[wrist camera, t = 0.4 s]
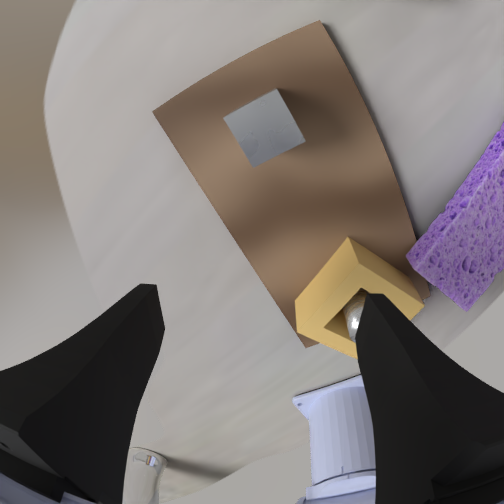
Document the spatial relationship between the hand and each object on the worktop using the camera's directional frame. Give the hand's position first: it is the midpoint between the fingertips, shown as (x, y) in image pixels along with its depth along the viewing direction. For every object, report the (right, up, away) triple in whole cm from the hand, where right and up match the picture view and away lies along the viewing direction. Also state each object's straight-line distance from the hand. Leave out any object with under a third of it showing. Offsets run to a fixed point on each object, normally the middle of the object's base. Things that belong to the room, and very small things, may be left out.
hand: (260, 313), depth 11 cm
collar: (+6, 0, +10) cm, 11 cm away
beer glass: (-15, -27, +28) cm, 42 cm away
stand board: (+3, +5, +8) cm, 10 cm away
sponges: (+15, +5, +6) cm, 17 cm away
